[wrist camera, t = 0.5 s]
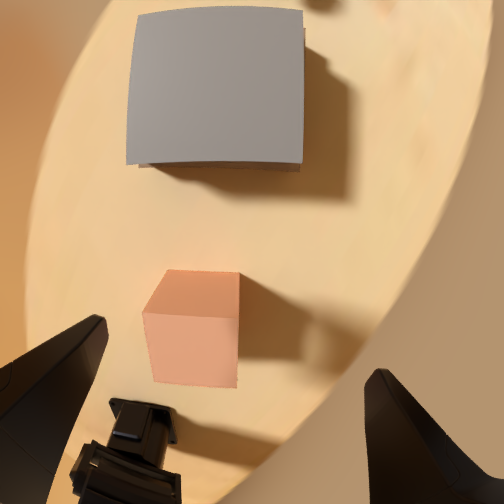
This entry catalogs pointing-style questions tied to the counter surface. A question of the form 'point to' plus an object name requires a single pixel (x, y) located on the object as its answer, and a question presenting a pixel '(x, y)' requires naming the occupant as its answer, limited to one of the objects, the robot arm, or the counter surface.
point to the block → (194, 328)
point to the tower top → (217, 86)
